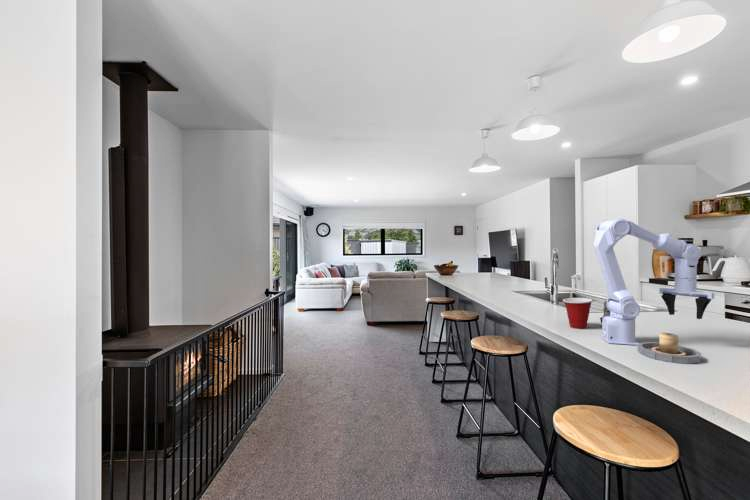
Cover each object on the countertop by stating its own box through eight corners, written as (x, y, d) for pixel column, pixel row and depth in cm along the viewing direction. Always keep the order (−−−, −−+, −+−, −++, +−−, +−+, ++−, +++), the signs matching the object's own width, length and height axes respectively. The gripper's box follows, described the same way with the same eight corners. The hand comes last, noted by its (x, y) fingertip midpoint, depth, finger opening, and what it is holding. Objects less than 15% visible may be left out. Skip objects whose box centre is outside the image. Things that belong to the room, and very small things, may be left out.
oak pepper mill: (663, 355, 106) (663, 335, 105) (656, 350, 110) (656, 332, 110) (680, 356, 104) (680, 336, 104) (673, 351, 108) (673, 333, 108)
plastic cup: (558, 324, 149) (558, 296, 149) (584, 324, 148) (585, 297, 147) (569, 330, 138) (569, 301, 138) (597, 330, 137) (597, 301, 137)
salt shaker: (619, 329, 139) (619, 300, 138) (603, 329, 140) (603, 300, 140) (612, 326, 144) (612, 298, 144) (597, 325, 146) (597, 297, 145)
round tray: (650, 360, 102) (650, 354, 102) (630, 346, 116) (630, 340, 116) (713, 366, 98) (713, 359, 98) (684, 350, 112) (684, 344, 112)
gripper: (718, 279, 114) (718, 319, 115) (666, 275, 127) (665, 311, 128) (709, 280, 111) (708, 321, 111) (656, 276, 124) (656, 313, 124)
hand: (685, 316), depth 119 cm, fingers open, 7 cm apart
